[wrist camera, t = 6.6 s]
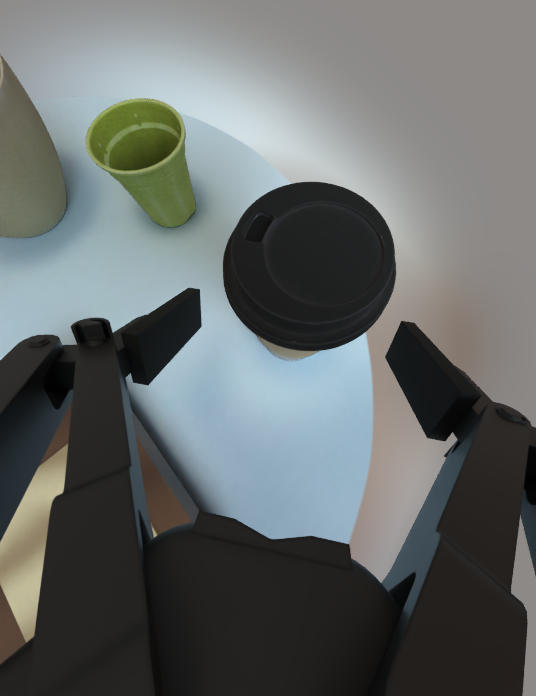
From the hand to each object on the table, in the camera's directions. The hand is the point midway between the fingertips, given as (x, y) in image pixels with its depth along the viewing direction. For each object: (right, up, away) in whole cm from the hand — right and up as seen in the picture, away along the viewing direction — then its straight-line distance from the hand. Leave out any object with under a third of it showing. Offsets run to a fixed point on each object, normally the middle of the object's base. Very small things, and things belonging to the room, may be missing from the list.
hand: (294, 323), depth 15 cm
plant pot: (-14, +17, +15) cm, 27 cm away
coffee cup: (+1, 0, +10) cm, 11 cm away
